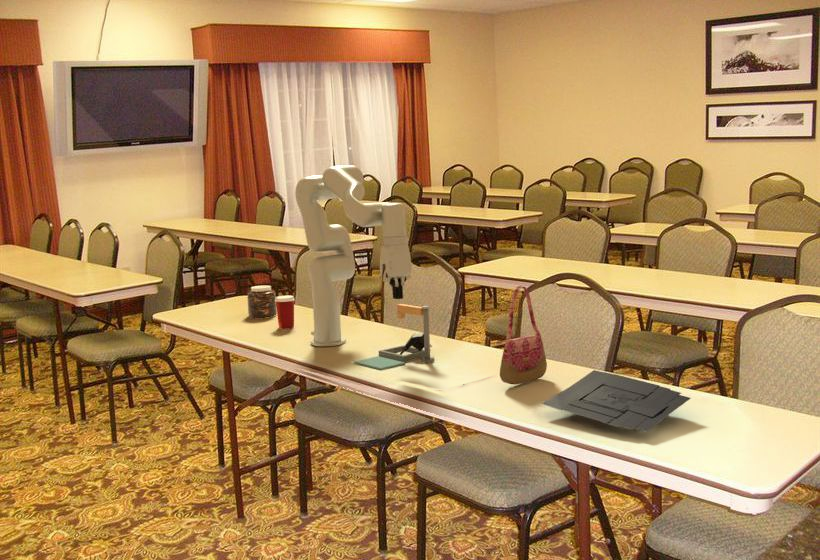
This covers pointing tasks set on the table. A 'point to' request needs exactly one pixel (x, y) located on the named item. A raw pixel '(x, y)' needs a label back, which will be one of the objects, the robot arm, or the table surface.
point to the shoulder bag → (522, 351)
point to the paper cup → (285, 311)
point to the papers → (618, 400)
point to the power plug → (415, 342)
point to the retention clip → (410, 310)
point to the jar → (261, 302)
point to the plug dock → (416, 353)
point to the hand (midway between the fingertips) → (398, 298)
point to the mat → (379, 363)
